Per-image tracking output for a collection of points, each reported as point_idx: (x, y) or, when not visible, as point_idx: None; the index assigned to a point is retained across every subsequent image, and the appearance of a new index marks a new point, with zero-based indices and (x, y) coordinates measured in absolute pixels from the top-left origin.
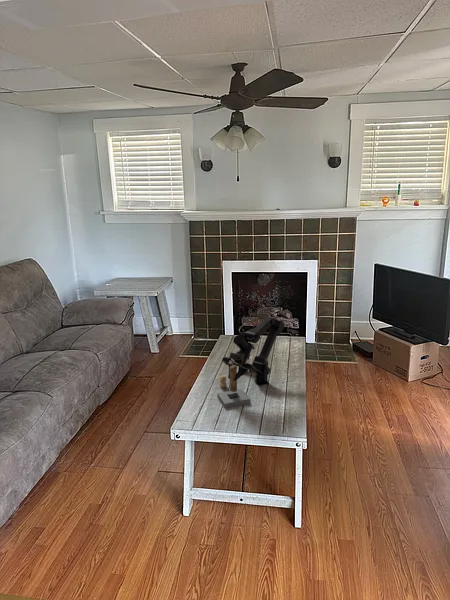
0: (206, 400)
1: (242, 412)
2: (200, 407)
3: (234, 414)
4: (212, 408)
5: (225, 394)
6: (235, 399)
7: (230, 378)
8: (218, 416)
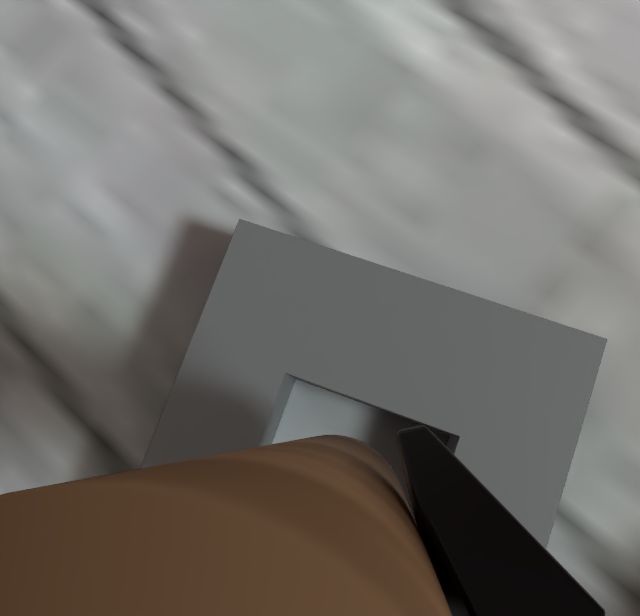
0: (602, 172)
1: (13, 353)
2: (483, 12)
3: (52, 242)
4: (359, 115)
5: (474, 418)
6: (224, 434)
7: (304, 445)
8: (156, 67)
